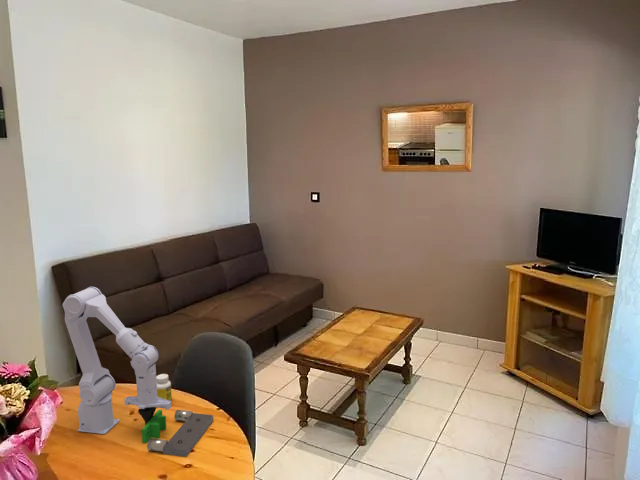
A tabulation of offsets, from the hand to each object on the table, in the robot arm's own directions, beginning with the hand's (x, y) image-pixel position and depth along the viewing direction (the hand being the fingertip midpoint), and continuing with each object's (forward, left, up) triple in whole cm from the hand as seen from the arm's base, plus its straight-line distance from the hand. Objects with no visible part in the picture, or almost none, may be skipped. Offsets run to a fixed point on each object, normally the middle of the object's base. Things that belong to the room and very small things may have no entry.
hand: (149, 427), depth 151 cm
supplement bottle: (-5, +17, -2) cm, 18 cm away
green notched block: (+2, 0, -2) cm, 3 cm away
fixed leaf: (+10, 0, -1) cm, 10 cm away
